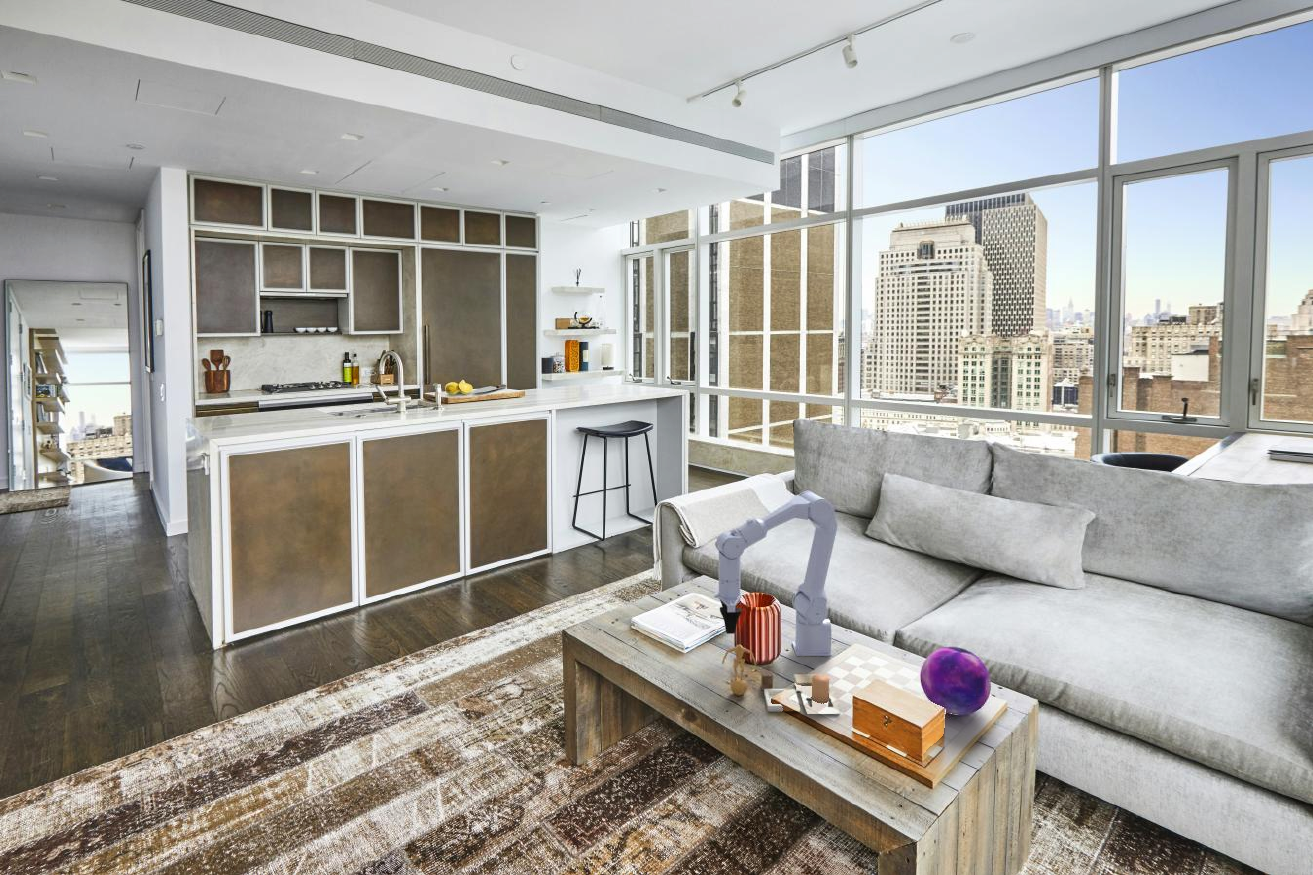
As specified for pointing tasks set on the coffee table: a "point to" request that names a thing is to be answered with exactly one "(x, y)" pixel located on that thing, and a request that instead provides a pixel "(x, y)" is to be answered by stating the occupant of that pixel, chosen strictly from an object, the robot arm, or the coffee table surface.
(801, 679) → the cream rectangular block
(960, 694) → the decorative orb
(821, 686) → the dowel
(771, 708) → the tray
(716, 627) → the coffee table surface
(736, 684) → the figurine
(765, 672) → the brown rectangular block
